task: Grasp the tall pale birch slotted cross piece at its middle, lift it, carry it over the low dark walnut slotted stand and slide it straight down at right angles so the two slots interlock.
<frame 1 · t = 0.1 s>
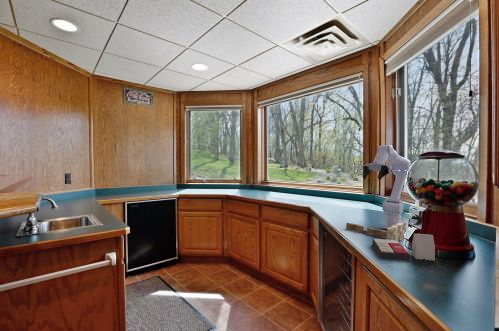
hand: (371, 178, 121), 32 cm above the worktop, tool tilted 50°, fingers open, 7 cm apart
calculator: (389, 254, 103), on the worktop
walnut stand: (365, 233, 131), on the worktop
cross piece: (396, 240, 118), on the worktop
tea bag: (423, 258, 98), on the worktop
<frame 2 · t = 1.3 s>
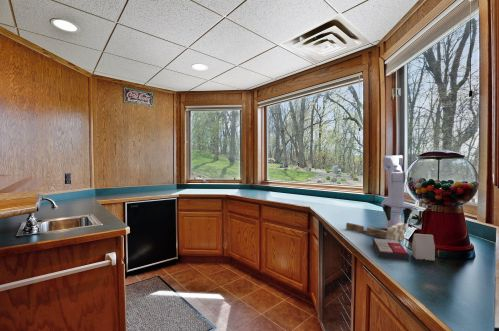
hand: (397, 221, 118), 10 cm above the worktop, tool pointing down, fingers open, 7 cm apart
nothing on the worktop moved.
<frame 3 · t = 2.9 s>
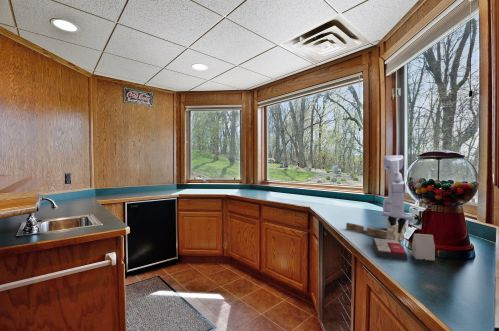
hand: (397, 232, 118), 4 cm above the worktop, tool pointing down, fingers closed on cross piece, 2 cm apart
cross piece: (397, 240, 118), on the worktop, touching gripper
everything else where it was.
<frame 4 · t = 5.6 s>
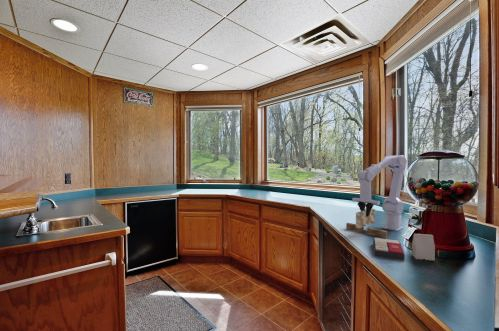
hand: (365, 215, 130), 10 cm above the worktop, tool pointing down, fingers closed on cross piece
cross piece: (365, 224, 131), point 5 cm above the worktop, touching gripper
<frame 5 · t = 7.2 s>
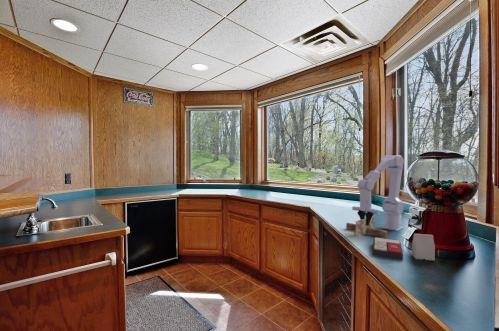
hand: (365, 224, 131), 5 cm above the worktop, tool pointing down, fingers closed on cross piece, 2 cm apart
cross piece: (365, 233, 131), on the worktop, touching gripper
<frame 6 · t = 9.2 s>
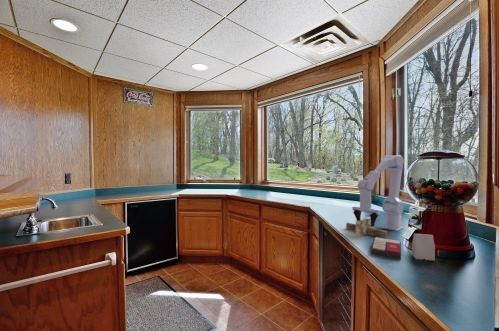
hand: (365, 224, 131), 5 cm above the worktop, tool pointing down, fingers open, 7 cm apart
cross piece: (365, 233, 131), on the worktop
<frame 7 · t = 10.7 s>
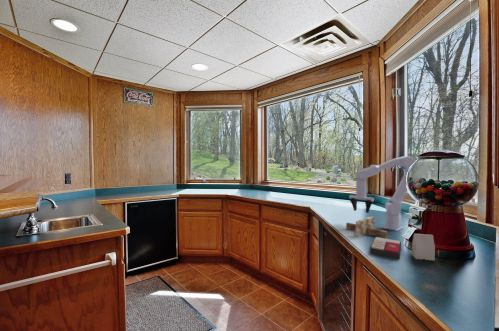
hand: (361, 211, 143), 9 cm above the worktop, tool pointing down, fingers open, 7 cm apart
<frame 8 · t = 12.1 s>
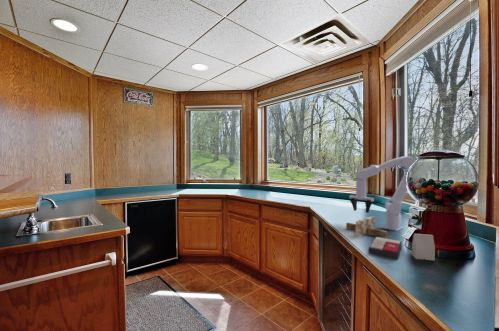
hand: (361, 211, 144), 9 cm above the worktop, tool pointing down, fingers open, 7 cm apart
at the end: cross piece 0.1 cm off-centre on the walnut stand, point 0.0 cm above the walnut stand's base; cross piece tilted 0°; the gripper is holding nothing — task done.
